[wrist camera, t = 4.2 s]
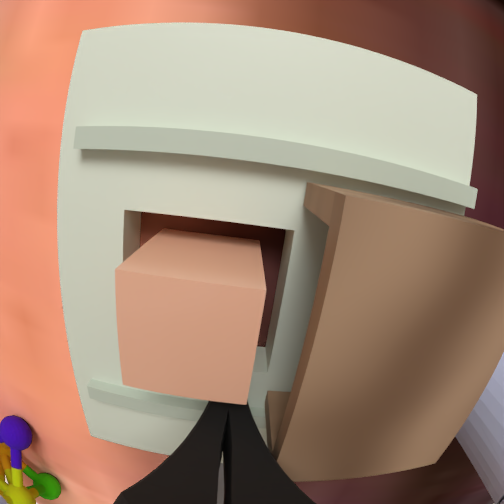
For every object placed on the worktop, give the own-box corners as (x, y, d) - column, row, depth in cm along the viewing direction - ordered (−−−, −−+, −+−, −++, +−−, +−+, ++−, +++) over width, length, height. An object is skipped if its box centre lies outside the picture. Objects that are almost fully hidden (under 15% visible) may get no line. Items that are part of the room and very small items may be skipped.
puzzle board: (451, 99, 11) (485, 92, 9) (356, 440, 16) (366, 470, 14) (102, 45, 10) (75, 25, 8) (101, 414, 16) (87, 442, 13)
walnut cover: (467, 216, 10) (541, 244, 6) (401, 402, 13) (434, 463, 9) (306, 181, 10) (346, 195, 6) (264, 403, 13) (269, 481, 9)
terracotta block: (259, 239, 13) (266, 289, 8) (246, 325, 14) (246, 404, 9) (163, 228, 13) (114, 268, 8) (160, 313, 14) (122, 384, 9)
